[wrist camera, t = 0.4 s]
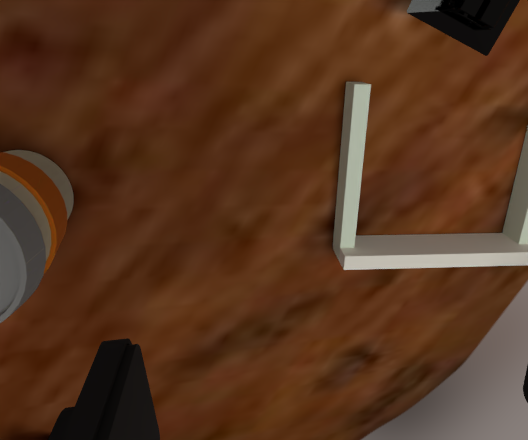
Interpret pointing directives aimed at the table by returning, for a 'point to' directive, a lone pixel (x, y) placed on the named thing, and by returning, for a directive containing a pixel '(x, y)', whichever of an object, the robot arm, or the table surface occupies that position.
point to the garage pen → (423, 245)
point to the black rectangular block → (466, 19)
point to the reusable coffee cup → (29, 223)
